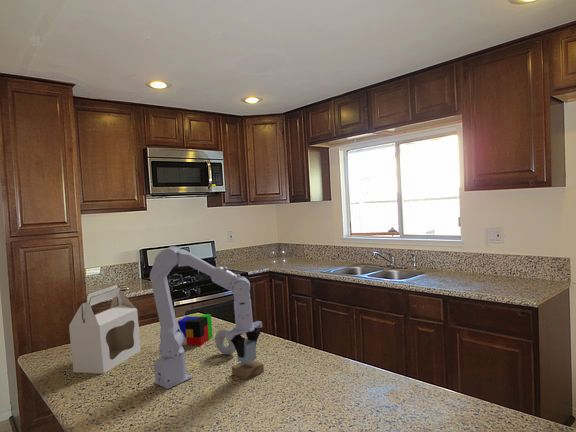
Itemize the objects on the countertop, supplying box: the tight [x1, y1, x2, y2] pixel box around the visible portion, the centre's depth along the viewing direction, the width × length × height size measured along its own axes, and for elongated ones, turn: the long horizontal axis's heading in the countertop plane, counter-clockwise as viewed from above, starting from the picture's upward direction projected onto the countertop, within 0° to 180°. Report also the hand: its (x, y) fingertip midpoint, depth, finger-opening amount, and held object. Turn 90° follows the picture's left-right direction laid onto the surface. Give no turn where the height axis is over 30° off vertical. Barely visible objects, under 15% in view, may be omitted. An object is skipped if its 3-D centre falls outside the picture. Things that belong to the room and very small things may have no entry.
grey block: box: [236, 338, 257, 364], centre depth 134 cm, size 5×5×6 cm
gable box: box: [68, 284, 141, 375], centre depth 154 cm, size 22×13×28 cm, turn 165°
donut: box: [214, 327, 237, 356], centre depth 152 cm, size 10×4×10 cm, turn 61°
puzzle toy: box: [177, 313, 213, 346], centre depth 170 cm, size 10×10×10 cm
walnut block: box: [231, 360, 265, 381], centre depth 135 cm, size 8×8×3 cm
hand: (246, 354), depth 134 cm, fingers closed on grey block, 4 cm apart
